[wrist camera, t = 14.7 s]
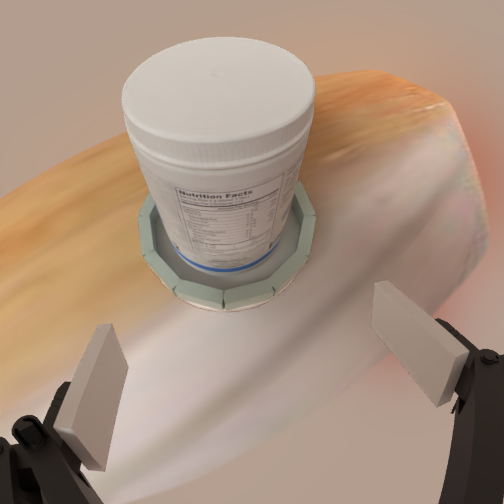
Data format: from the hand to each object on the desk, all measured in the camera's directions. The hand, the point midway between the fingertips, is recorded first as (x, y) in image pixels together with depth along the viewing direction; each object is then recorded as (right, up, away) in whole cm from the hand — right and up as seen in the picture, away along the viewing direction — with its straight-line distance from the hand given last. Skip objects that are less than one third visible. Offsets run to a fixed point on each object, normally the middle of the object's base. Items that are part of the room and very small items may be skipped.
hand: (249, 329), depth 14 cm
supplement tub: (-2, +6, +12) cm, 13 cm away
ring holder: (-2, +5, +13) cm, 14 cm away
